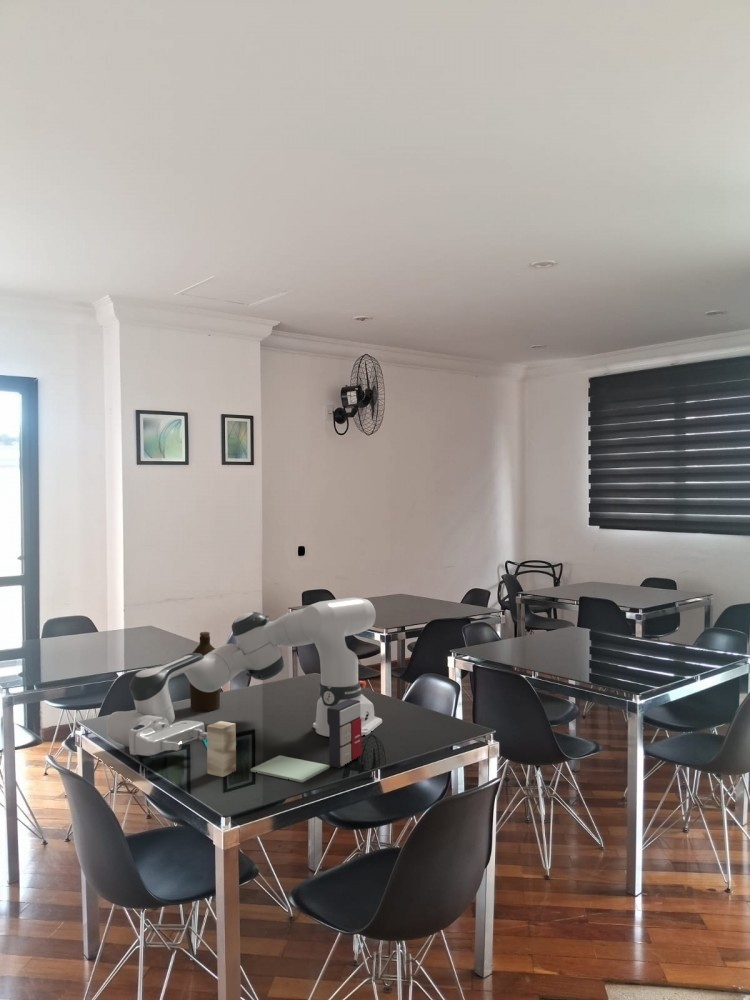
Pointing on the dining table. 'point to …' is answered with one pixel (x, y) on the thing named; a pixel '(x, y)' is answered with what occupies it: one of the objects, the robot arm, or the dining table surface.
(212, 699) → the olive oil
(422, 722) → the dining table surface
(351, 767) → the dining table surface
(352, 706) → the dark grey box
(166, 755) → the dining table surface
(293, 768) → the rubber mat
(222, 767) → the birch block
